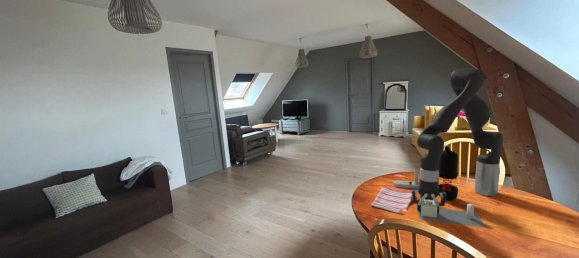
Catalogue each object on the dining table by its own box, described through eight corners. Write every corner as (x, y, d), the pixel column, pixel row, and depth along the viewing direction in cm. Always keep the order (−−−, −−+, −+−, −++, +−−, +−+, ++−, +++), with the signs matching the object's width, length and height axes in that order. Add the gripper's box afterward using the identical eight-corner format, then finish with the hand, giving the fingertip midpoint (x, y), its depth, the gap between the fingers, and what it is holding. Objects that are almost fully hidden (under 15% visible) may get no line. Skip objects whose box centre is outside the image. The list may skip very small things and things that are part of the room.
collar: (421, 215, 106) (421, 205, 105) (419, 209, 112) (419, 199, 111) (436, 217, 104) (437, 207, 103) (434, 210, 110) (434, 200, 109)
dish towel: (414, 196, 129) (414, 190, 128) (406, 216, 110) (406, 209, 110) (382, 189, 139) (382, 184, 138) (370, 207, 121) (370, 201, 120)
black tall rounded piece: (456, 208, 113) (459, 148, 108) (434, 203, 119) (436, 146, 114) (459, 197, 123) (462, 141, 118) (439, 192, 129) (441, 139, 124)
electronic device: (393, 169, 144) (421, 170, 137) (393, 184, 146) (421, 186, 139) (392, 172, 139) (421, 174, 132) (393, 187, 141) (421, 190, 134)
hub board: (419, 222, 104) (420, 206, 103) (416, 209, 115) (416, 194, 114) (486, 230, 95) (487, 213, 94) (475, 215, 106) (476, 199, 105)
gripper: (411, 180, 104) (411, 214, 107) (450, 182, 99) (448, 219, 102) (410, 173, 111) (409, 206, 114) (445, 175, 106) (444, 210, 109)
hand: (427, 212), depth 108 cm, fingers closed on collar, 6 cm apart
